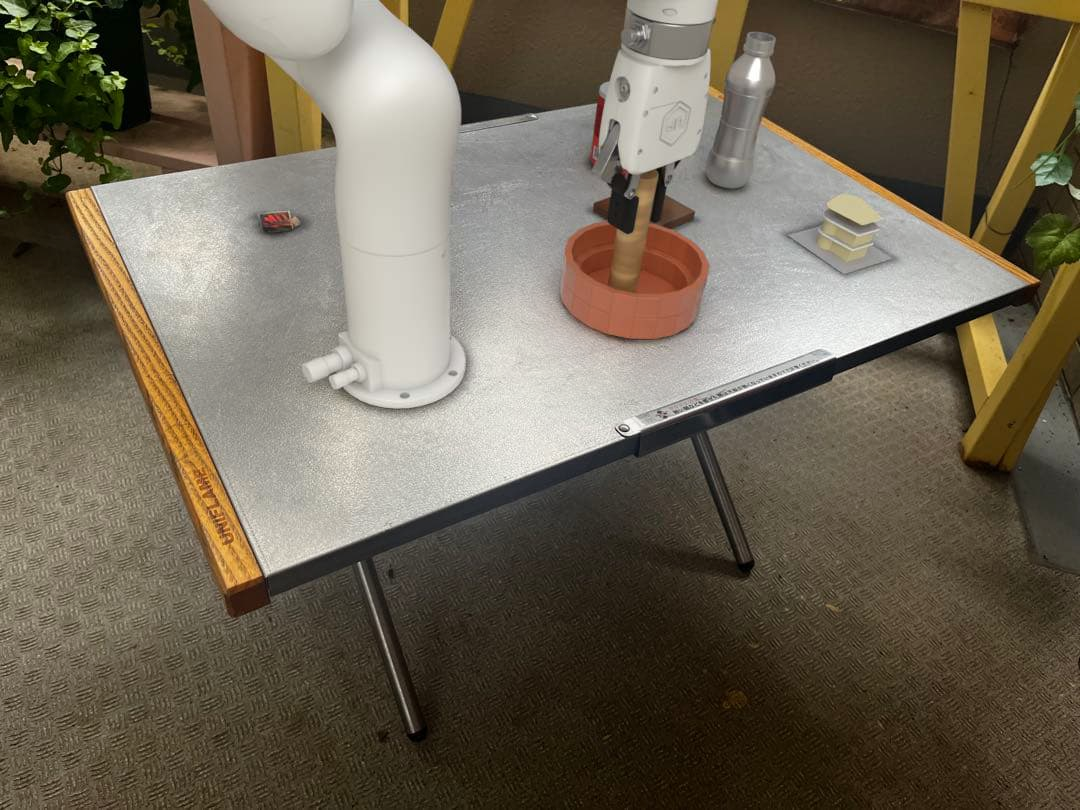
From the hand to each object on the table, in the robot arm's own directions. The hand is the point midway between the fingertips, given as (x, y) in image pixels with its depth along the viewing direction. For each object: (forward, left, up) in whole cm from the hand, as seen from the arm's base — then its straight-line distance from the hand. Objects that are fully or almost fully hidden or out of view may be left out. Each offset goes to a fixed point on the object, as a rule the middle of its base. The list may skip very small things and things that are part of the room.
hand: (633, 220), depth 82 cm
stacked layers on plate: (+34, -7, -11) cm, 37 cm away
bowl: (+2, 0, -11) cm, 11 cm away
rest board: (+18, +13, -11) cm, 25 cm away
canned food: (+25, +25, -11) cm, 37 cm away
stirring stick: (0, 0, -9) cm, 9 cm away
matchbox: (-22, +36, -11) cm, 44 cm away
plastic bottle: (+35, +13, -11) cm, 39 cm away
